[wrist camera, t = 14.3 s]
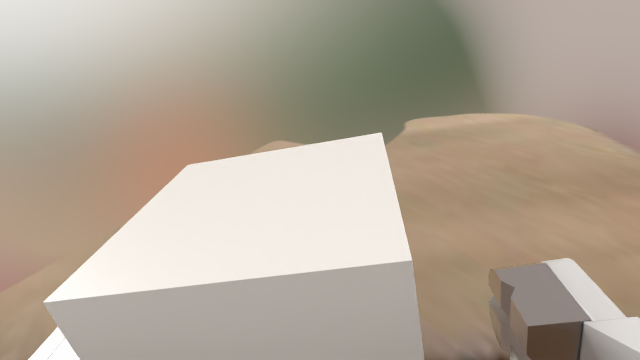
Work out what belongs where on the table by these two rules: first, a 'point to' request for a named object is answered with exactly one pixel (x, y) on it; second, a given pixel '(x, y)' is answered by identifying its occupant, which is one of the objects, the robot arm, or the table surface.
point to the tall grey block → (255, 265)
